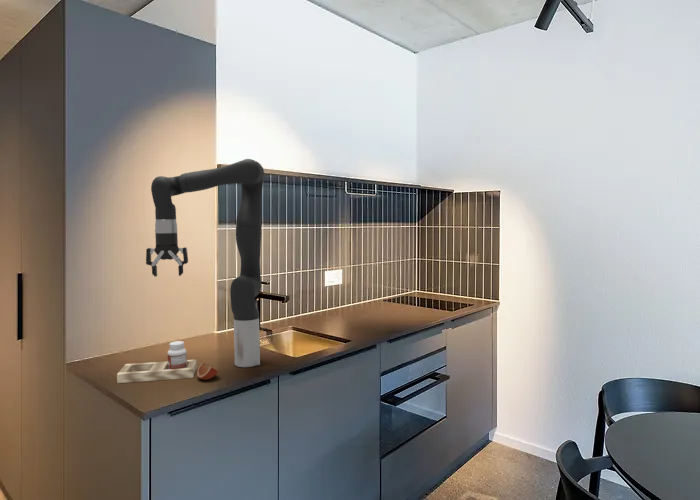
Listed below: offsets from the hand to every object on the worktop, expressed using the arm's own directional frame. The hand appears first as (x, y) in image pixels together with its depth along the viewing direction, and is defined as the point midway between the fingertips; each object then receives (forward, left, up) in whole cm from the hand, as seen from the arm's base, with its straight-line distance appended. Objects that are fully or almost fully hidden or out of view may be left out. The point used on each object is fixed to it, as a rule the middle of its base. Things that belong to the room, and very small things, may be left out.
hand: (167, 275), depth 172 cm
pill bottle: (-4, +12, -33) cm, 36 cm away
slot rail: (+2, +12, -33) cm, 35 cm away
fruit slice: (-15, +19, -33) cm, 41 cm away
